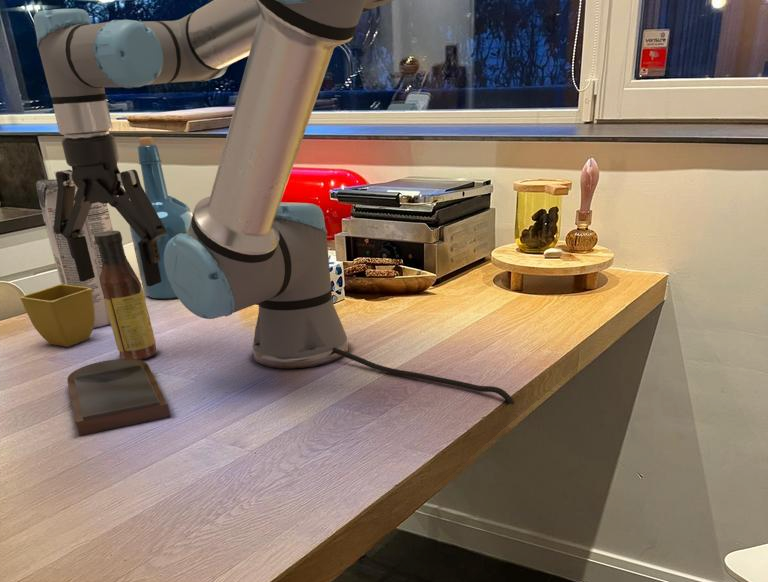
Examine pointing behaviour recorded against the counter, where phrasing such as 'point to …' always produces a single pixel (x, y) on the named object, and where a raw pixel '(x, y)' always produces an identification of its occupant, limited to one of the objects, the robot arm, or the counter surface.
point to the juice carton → (64, 262)
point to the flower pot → (61, 313)
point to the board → (115, 395)
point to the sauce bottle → (124, 299)
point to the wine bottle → (168, 210)
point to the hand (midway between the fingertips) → (120, 281)
